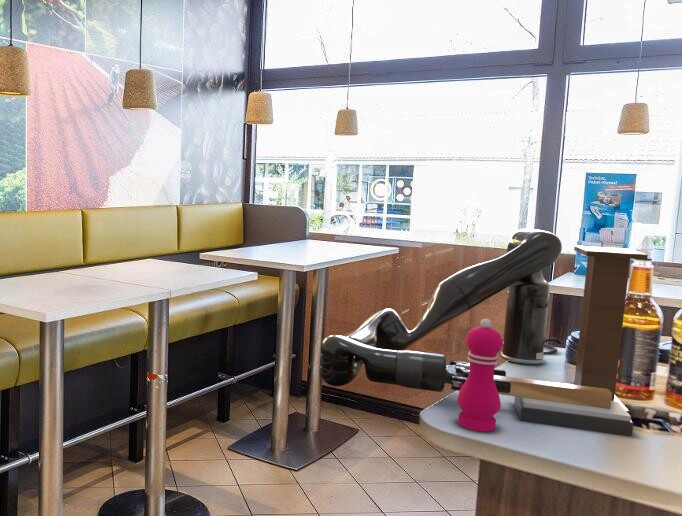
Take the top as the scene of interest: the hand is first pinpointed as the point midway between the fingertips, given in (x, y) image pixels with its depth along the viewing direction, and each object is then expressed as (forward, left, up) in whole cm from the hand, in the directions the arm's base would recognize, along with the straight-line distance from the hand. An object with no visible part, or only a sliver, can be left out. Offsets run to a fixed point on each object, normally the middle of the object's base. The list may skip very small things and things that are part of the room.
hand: (507, 381), depth 136 cm
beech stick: (0, +6, -2) cm, 7 cm away
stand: (-12, +17, -6) cm, 22 cm away
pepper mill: (+12, -6, -6) cm, 15 cm away
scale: (0, +11, -6) cm, 13 cm away
